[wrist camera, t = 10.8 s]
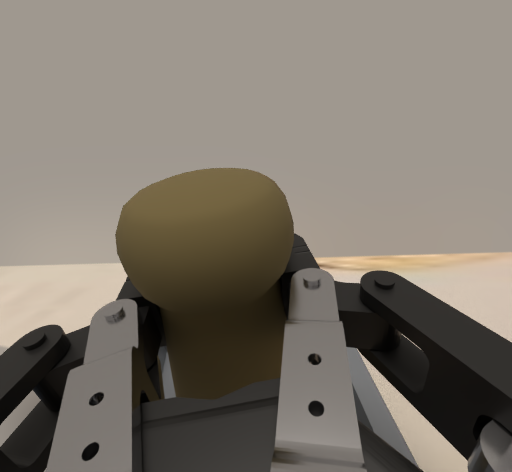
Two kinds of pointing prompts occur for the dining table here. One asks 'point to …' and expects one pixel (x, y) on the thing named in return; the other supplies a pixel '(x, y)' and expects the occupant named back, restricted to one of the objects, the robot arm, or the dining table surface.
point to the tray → (365, 397)
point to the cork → (212, 274)
